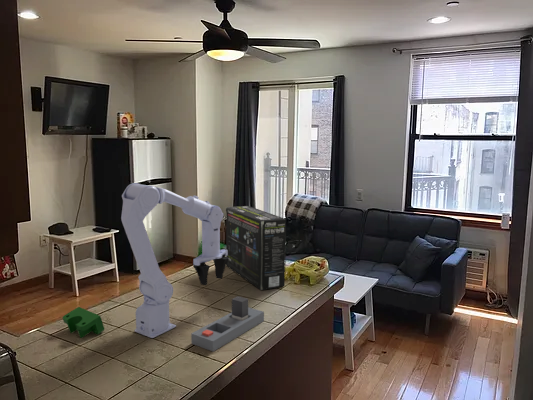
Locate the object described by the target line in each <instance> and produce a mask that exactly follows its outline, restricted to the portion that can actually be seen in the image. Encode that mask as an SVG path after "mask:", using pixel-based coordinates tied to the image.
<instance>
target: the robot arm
mask: <svg viewBox="0 0 533 400" xmlns="http://www.w3.org/2000/svg"><path fill="white" fill-rule="evenodd" d="M121 198H122V206H121V207H122V210H121V217H120V219H121V220H120V221H121V223H122V226H123V228H124V232H125V235H126V237H127V239H128V242H129V244H130V249H131V250H132V253H133V256H134V258H135V261H136V264H137V267H138V269H139V271H140V274H139V275H138V280H139V285H138V287H139V288H138V289H139V291H140V293H141V294H142V295H143V302H142V304H141V305H139V306H138V307H137V308H136V310H135V327H136V328H135V329H134V332H136V333H138V334H140V335H142V336H146V337H148V338H151V339H153V338H155V337H158V336H160V335H162V334H164V333H167V332H168V331H171V330H172V329H174V328H176V327H177V325H176V324H173V323H171V321H170V301H171V298H172V297H173V295H174V294H173V293H174V286H173V284H172V283H170V282H169V281H168V279H167V276H166V275H165V273H164V272H162V270H161V269H160V266H159V263H158V261H157V257H156V255H155V252H154V248H153V246H152V244H151V240H150V237H149V235H148V231H147V229H146V226H145V223H144V220H145V218H146V217H147V216H148V215H149V214H150V213H151V212H152V210H154V209H155V207H156V206H157V205H158V204H159V205H160V204H163V203H165V204H166V203H167V204H170V205H173V206H176V207H179V208H181V210H182V212H183V213H184V214H185V215H188V216H189V217H192V218H196V219H198V220H199V221H201V248H202V249H201V250H202V251H201V252H202V253H201V254H200V255H198V256H197V257H195V258H193V261H192V266H193V267H192V268H194V270H195V272H196V274H197V276H198V279H199V283H200V285H202V286H207V285H208V276H209V275H208V274H209V270H210V267H211V265H208V264H206V263H207V262H210V261H213V263H214V264H213V265H214V270H215V271H214V273H215V277H216V279H219V280H221V279H223V275H224V272H225V268H226V267H227V266H226V264H227V262H228V260H229V258H228V257H226V256H227V255H228V250H226V248H222V249H221V243H220V242H221V240H220V239H221V230H220V229H221V223H222V220H223V218H224V214H225V213H223V210H222V209H221V207H220V206H219V205H214V204H211V202H210V201H208V200H202V199H199V196H198V195H188V196H187V197H183V196H181V195H179V194H177V193H175V192H173V191H171V190H168V189H166V188H163V187H156V186H154V185H146V184H141V183H139V182H133V183H130V184H129V185H127V186H126V188H125V189H124V191H123V193H122V194H121Z"/></svg>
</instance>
